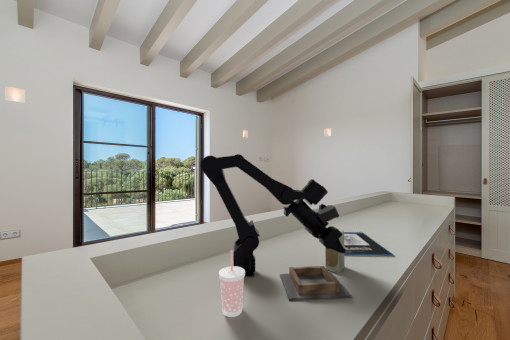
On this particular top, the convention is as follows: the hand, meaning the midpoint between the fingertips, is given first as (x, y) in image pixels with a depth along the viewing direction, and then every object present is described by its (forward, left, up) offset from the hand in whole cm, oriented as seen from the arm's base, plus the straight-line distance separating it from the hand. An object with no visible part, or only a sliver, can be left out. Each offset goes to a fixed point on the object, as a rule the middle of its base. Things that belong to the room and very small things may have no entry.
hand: (339, 248), depth 73 cm
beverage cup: (-34, -19, -7) cm, 40 cm away
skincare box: (-1, 0, -7) cm, 7 cm away
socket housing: (-12, -10, -7) cm, 17 cm away
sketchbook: (+16, +24, -7) cm, 30 cm away
